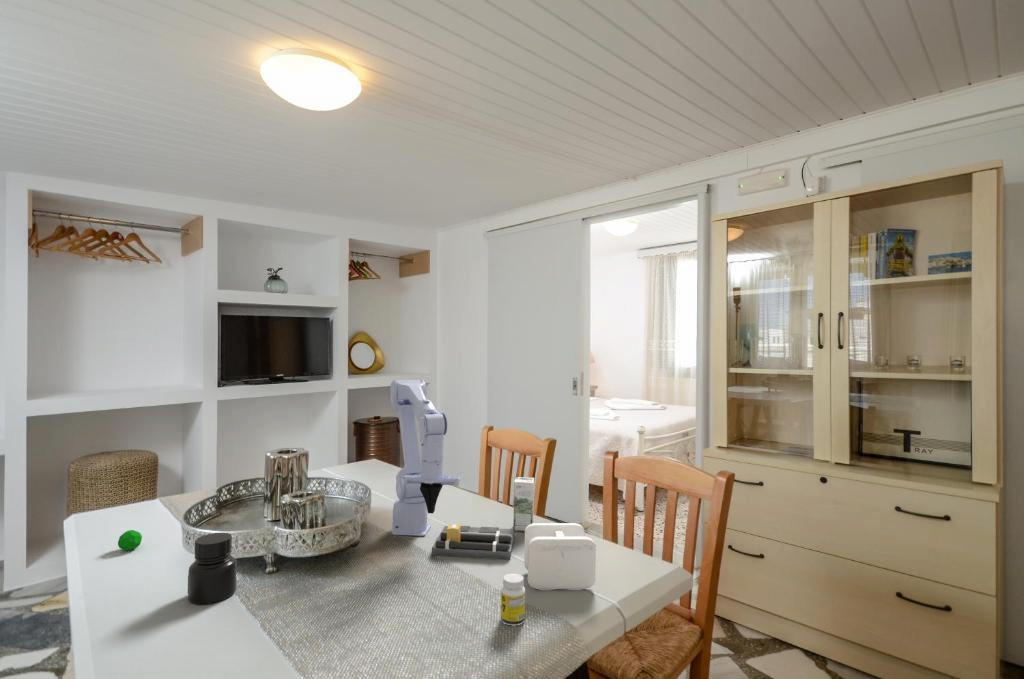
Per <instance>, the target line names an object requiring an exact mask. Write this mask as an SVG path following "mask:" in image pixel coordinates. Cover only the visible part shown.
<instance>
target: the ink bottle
mask: <svg viewBox="0 0 1024 679" xmlns="http://www.w3.org/2000/svg"><path fill="white" fill-rule="evenodd" d="M232 538H233V537H232V534H230V533H228V532H215V533H213V532H212V533H209V534H208V533H207V534H204V535H201V536H199V537H197V538H196V539H195V540H194V559H195V560H194V562H192V563H191V564H190V565H189V567H188V572H187V574H188V575H187V598H188V601H190V603H193V604H195V605H207V604H208V605H209V604H213V603H217V602H221V601H222V600H223V601H224V600H225V599H228V598H230V597H231V596H233V595H234V594H235V592H236V590H237V572H238V571H237V570H238V569H237V567H238V566H237V564H238V562H237V559H236V558H235V557H234V556H232V555H231V554H232V549H233V548H232V542H233V540H232Z"/></svg>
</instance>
